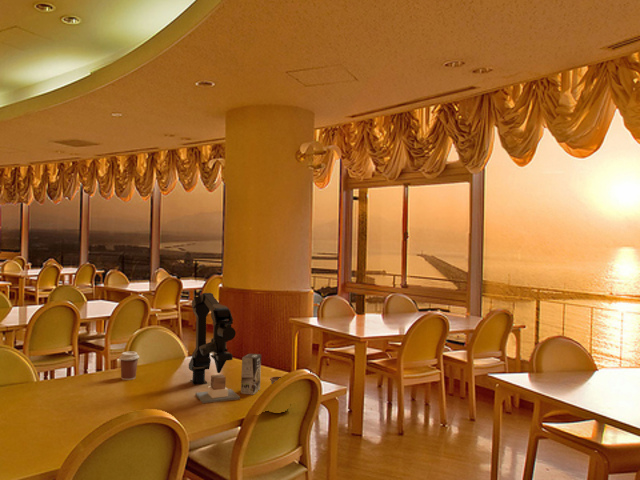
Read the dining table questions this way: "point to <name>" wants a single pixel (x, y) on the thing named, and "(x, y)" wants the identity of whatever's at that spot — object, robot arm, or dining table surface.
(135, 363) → the coffee cup
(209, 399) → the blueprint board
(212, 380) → the walnut block
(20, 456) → the dining table surface
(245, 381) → the coffee box
